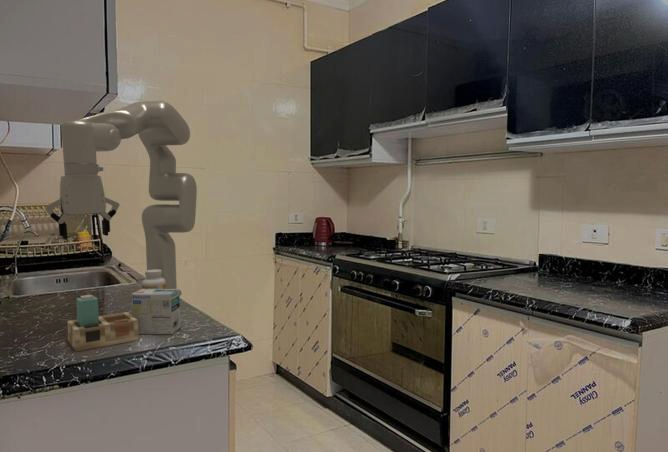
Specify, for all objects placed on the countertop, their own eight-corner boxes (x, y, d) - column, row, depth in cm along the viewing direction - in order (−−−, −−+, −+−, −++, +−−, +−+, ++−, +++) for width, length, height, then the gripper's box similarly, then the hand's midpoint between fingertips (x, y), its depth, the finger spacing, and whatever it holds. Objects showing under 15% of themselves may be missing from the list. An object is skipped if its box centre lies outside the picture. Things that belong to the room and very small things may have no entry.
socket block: (68, 340, 122) (67, 319, 122) (127, 330, 130) (126, 310, 130) (76, 351, 114) (75, 329, 113) (138, 340, 122) (138, 319, 122)
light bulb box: (181, 327, 133) (180, 288, 132) (173, 335, 127) (171, 293, 126) (142, 327, 134) (141, 288, 133) (131, 334, 127) (130, 293, 126)
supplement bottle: (160, 308, 153) (158, 267, 152) (170, 312, 149) (169, 270, 148) (139, 312, 148) (137, 270, 147) (149, 316, 144) (148, 273, 143)
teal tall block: (78, 338, 121) (76, 295, 120) (95, 335, 123) (94, 293, 122) (81, 342, 117) (79, 298, 117) (99, 339, 120) (97, 296, 119)
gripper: (113, 170, 134) (116, 232, 136) (39, 171, 124) (45, 238, 126) (120, 170, 128) (124, 235, 130) (44, 171, 118) (50, 241, 120)
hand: (85, 236), depth 128 cm, fingers open, 9 cm apart
